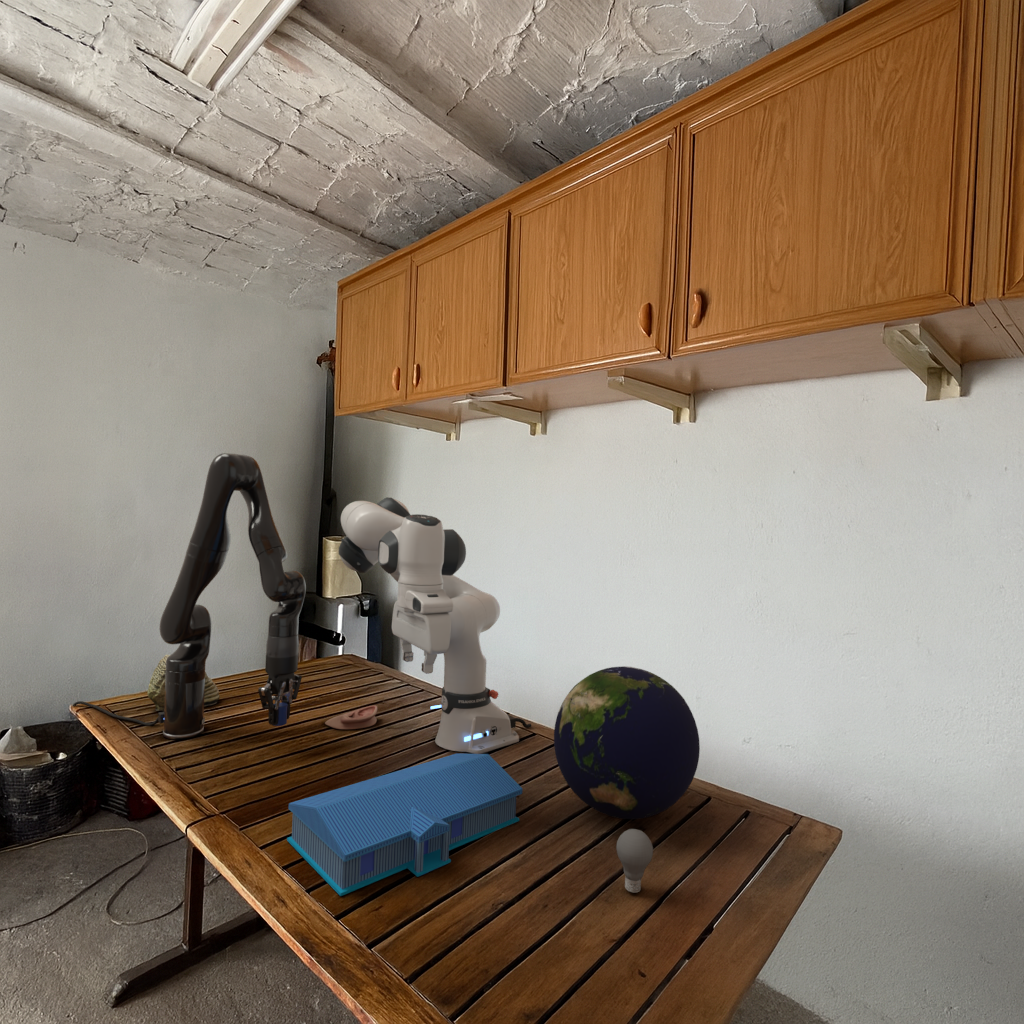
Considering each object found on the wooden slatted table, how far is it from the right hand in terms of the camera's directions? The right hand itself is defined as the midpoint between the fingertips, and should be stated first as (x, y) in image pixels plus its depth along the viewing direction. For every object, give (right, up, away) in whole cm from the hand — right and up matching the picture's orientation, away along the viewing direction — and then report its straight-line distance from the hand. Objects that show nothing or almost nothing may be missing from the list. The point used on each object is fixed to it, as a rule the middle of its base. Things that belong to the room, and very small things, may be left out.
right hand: (417, 666), depth 126 cm
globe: (+42, -32, +7) cm, 53 cm away
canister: (-39, -22, +31) cm, 54 cm away
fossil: (-77, -26, +59) cm, 101 cm away
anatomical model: (-26, -29, +52) cm, 65 cm away
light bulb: (+39, -33, -20) cm, 55 cm away
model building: (0, -31, -5) cm, 31 cm away
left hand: (-39, -21, +31) cm, 54 cm away
